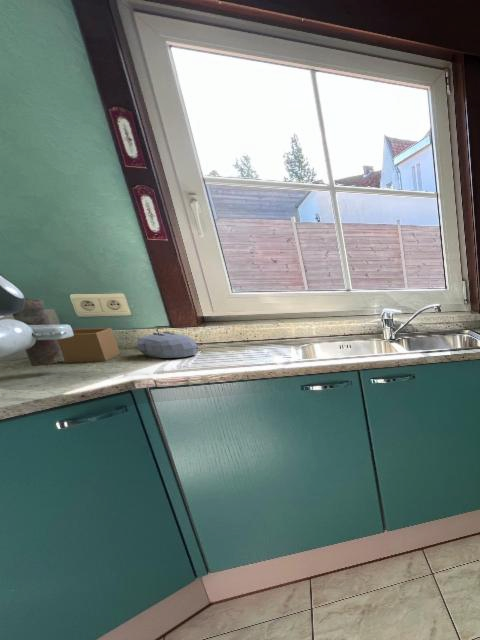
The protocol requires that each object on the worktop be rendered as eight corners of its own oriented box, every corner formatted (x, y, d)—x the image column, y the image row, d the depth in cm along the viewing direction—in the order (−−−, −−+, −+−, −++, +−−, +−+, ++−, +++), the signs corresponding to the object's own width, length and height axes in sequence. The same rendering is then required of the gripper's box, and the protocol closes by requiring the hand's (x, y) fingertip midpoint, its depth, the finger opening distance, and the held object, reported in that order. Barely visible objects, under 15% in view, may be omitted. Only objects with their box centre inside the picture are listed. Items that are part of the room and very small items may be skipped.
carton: (54, 363, 166) (43, 335, 163) (72, 356, 177) (62, 329, 174) (105, 360, 172) (96, 333, 168) (120, 353, 183) (111, 328, 179)
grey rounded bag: (133, 355, 180) (163, 361, 172) (125, 332, 177) (155, 338, 169) (180, 349, 193) (210, 355, 185) (173, 328, 190) (204, 332, 182)
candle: (51, 361, 158) (25, 297, 150) (73, 362, 157) (49, 297, 150) (24, 366, 150) (-4, 299, 143) (47, 367, 150) (21, 299, 143)
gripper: (56, 323, 142) (78, 317, 154) (-45, 325, 134) (-14, 318, 145) (64, 345, 144) (85, 337, 156) (-35, 348, 136) (-5, 340, 148)
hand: (36, 328), depth 151 cm, fingers closed on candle, 7 cm apart
